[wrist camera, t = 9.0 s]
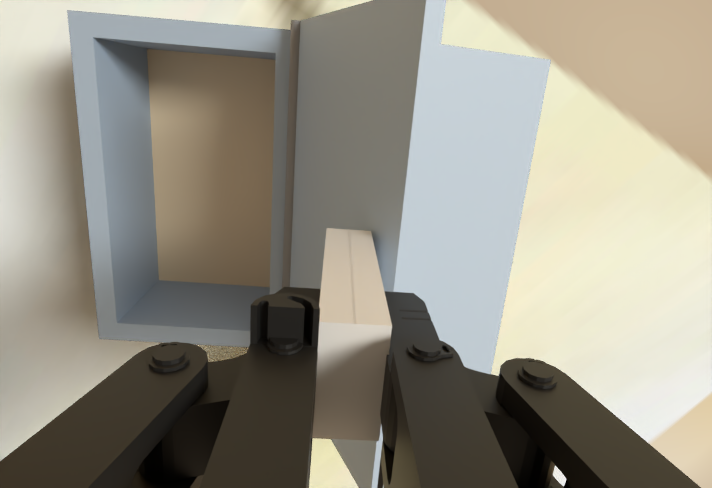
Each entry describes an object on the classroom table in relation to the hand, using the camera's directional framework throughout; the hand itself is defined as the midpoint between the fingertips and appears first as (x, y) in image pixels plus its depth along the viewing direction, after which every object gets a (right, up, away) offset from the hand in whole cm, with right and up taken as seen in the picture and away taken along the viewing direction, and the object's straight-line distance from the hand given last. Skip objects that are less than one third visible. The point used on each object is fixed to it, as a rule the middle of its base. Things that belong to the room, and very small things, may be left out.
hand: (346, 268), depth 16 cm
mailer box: (-8, +5, +14) cm, 17 cm away
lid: (-1, +1, +3) cm, 3 cm away
